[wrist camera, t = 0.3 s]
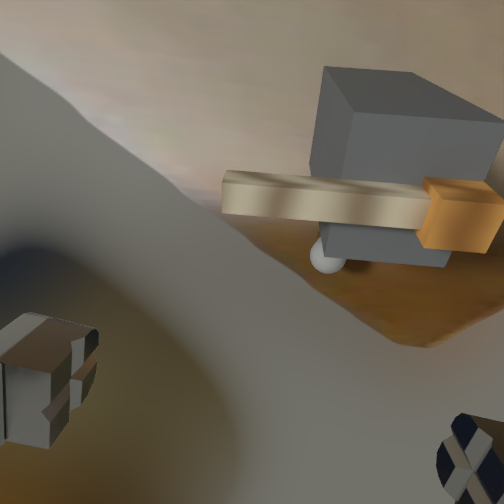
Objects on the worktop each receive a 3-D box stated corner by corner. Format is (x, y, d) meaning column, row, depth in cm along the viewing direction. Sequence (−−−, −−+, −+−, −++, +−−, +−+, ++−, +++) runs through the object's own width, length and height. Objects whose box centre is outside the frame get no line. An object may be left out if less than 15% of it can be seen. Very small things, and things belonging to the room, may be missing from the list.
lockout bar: (226, 206, 33) (218, 230, 30) (226, 161, 31) (218, 181, 27) (463, 226, 33) (485, 253, 29) (483, 181, 30) (511, 205, 27)
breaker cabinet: (309, 163, 57) (324, 256, 36) (324, 66, 49) (354, 112, 28) (388, 169, 57) (450, 268, 35) (416, 72, 49) (518, 124, 27)
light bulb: (345, 222, 63) (354, 254, 54) (335, 249, 66) (342, 283, 58) (312, 216, 62) (316, 248, 54) (304, 243, 66) (307, 277, 58)
